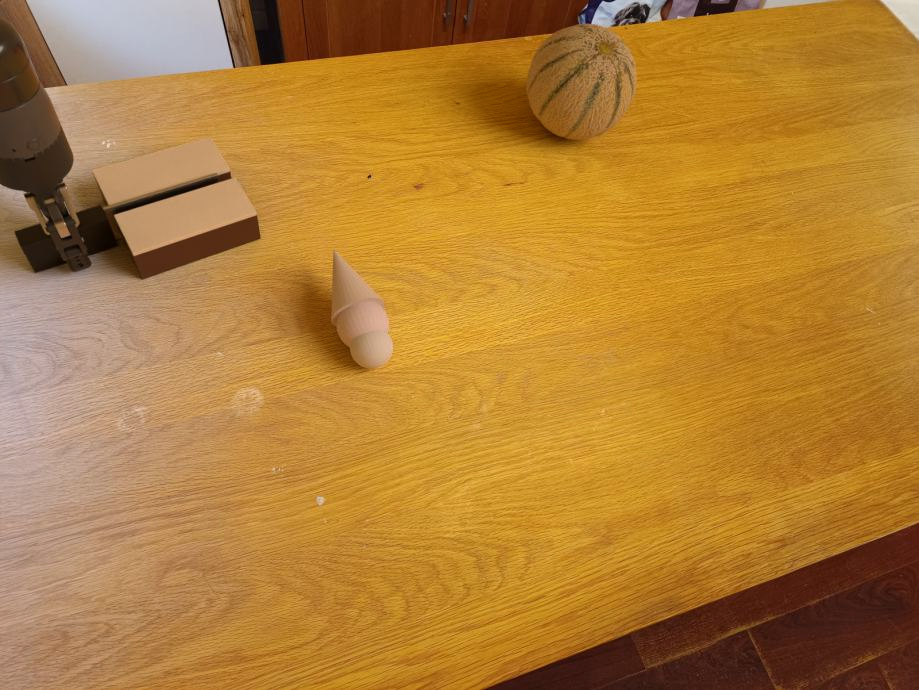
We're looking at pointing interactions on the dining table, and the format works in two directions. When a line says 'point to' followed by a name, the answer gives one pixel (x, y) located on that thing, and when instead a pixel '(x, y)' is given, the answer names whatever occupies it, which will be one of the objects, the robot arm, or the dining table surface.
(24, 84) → the robot arm
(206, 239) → the slotted tan block
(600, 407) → the dining table surface
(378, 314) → the ice cream cone
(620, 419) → the dining table surface
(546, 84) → the cantaloupe
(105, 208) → the knife
